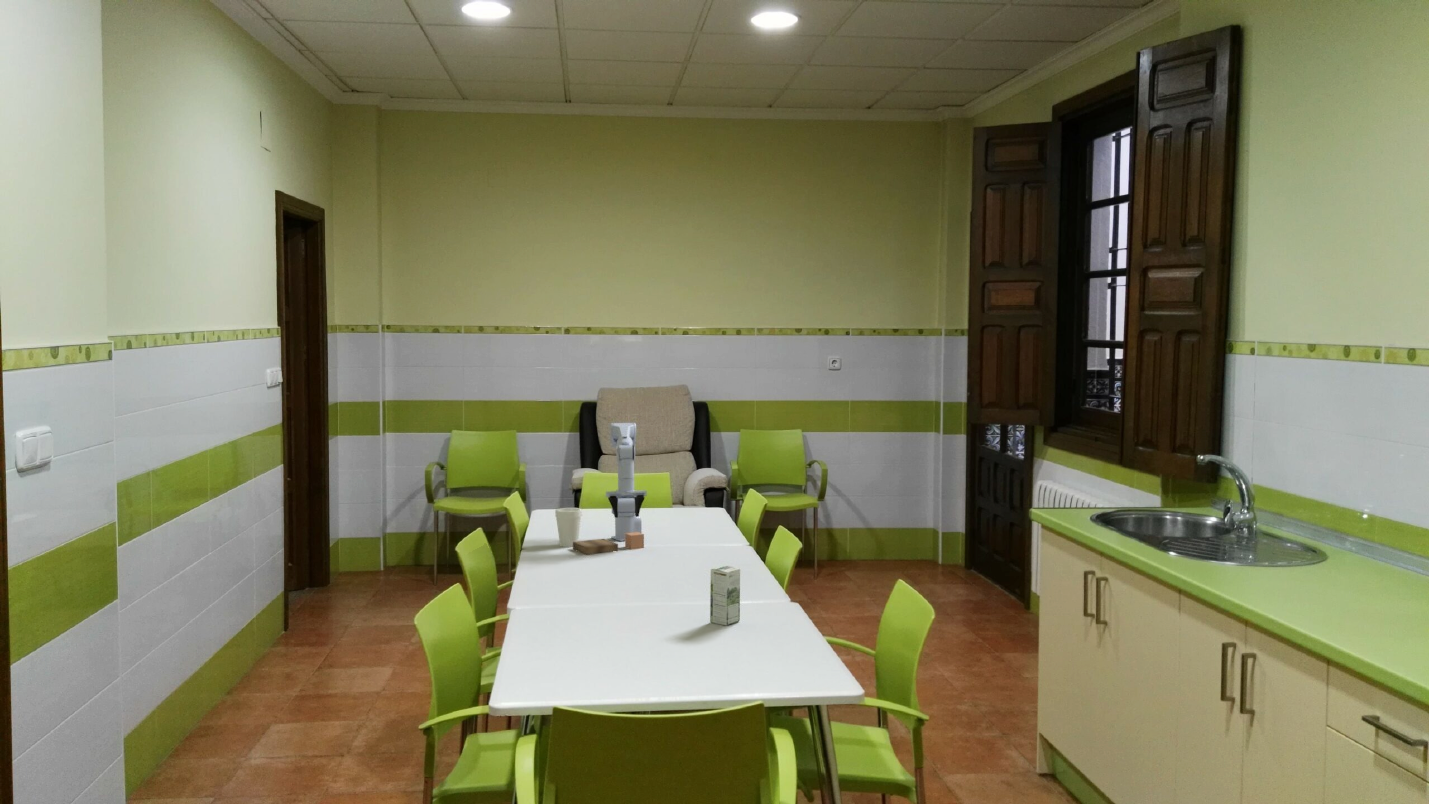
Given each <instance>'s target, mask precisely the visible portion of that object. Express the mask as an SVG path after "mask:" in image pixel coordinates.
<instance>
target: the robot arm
mask: <svg viewBox="0 0 1429 804" xmlns="http://www.w3.org/2000/svg"><path fill="white" fill-rule="evenodd" d="M609 425H610V426H609V437H610V444H611V447H613V448H615V449H616V461H617V463H616V464H617V489H616V490H615V491H605V498H607V499H608V502H609V503H610V506H611V514H612V515H613V517H614V522H615V524H614V526H615V527H614V528H615V529H614V531H615V533H614V534H615V535H613V536H611V539H614V540H616V541H617V542H618V541H619V542H624V541H625V533H633V532H639V533H642V532H643V531H642V524H643V523H642V518H641V516H640V511H641V508H642V505H643V503H644V500H645V497H647V496H648V495H647V494H648V493H647V490H644V489H643V490H635V463H634V462H635V461H636V460H635V459H636V448H635V446H636V442H637V441H636V440H637V424H636V422H611V423H610V424H609ZM642 534H643V533H642Z"/></svg>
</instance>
